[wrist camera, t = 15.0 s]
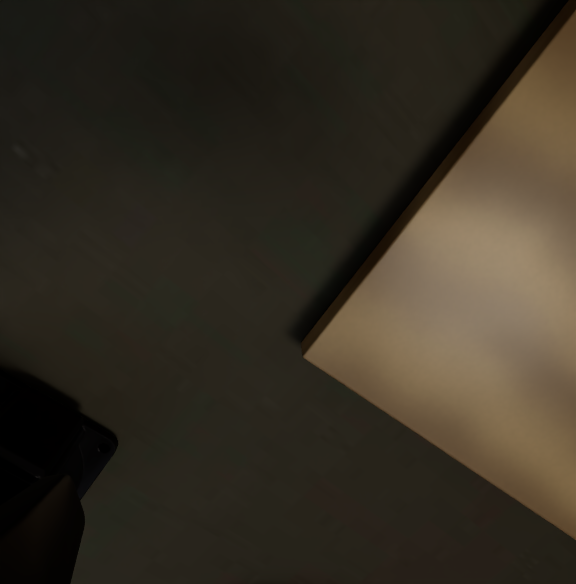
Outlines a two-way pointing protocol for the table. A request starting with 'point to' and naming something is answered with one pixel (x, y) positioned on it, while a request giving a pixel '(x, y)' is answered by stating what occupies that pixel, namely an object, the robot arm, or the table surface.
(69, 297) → the table surface
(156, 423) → the table surface
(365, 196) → the table surface
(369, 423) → the table surface
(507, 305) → the serving board
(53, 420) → the robot arm
